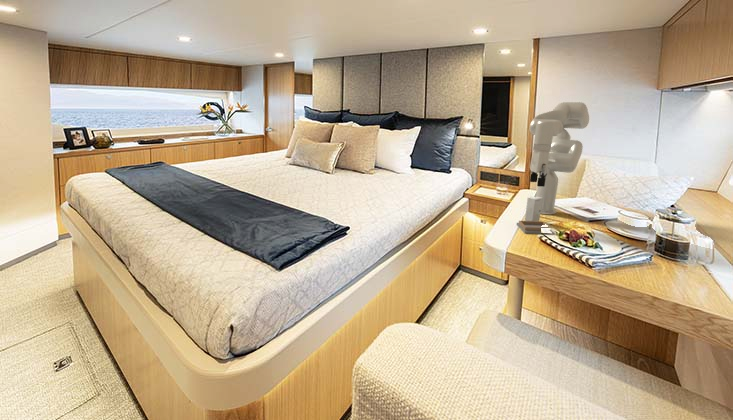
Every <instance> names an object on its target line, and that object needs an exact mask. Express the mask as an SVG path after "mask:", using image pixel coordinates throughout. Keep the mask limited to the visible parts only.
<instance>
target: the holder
mask: <svg viewBox="0 0 733 420" xmlns="http://www.w3.org/2000/svg"><path fill="white" fill-rule="evenodd" d="M545 224H547V223H546V222H545V221H541V220H539V221H525V220H518V222H516V226H517V227H518V228H519V229H520V231H522V232H523V233H524V234H528V235H529V234H530V235H534V234H535V235H542V234H541V228H550V227H551V226H550V227H549V225H548V227H541V226H542V225H545Z"/></svg>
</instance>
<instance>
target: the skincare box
mask: <svg viewBox="0 0 733 420" xmlns="http://www.w3.org/2000/svg"><path fill="white" fill-rule="evenodd" d="M541 204H542V198H541V197H536V195H535V196H530V197H527V202H526V208H525V209H526V210H525V215H524V221H540V217H541V214H540V211H541Z"/></svg>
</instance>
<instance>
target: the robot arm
mask: <svg viewBox="0 0 733 420" xmlns="http://www.w3.org/2000/svg"><path fill="white" fill-rule="evenodd" d="M589 122H590V115H589V111H588V107H587V105H586V103H584V102H580V101H579V102H573V101H565V102H560V103H558V104H557V105H556V106H555V107H554V108H553V110H550V111H547V112H542V113H539V114H538V115H536V116H535V117H534V118H533V119H532V120H531V121H530V123H529V128H528V129H529V133H530V134H531V135H533V136H534V138H533V139H534V140H533V145H532V146H533V147H532V155H531V159H530V165H529V170H530V177H529V182H530V183H537V184H536V193H535V196H536V197H541V198H542V204H541V211H540V215H556V214H557V212H558V210H557V209H555V203H556V198H557V192H558V185H559V177H558V175H557V173H556V172H558V173H559V172H560V173H569V174H571V173H573V172H574V171H575V170H576V169H577V166H578V164H579V161H580V158H581V156H582V153H583V148H584V147H583V143H582V142H581V141H580V140H577V139H571V138H572V137H571V135H570V133H569V132H568V130H567V129H575V130H578V129H579V130H580V129H581V130H582V129H585V128H587V126H588V125H589Z"/></svg>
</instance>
